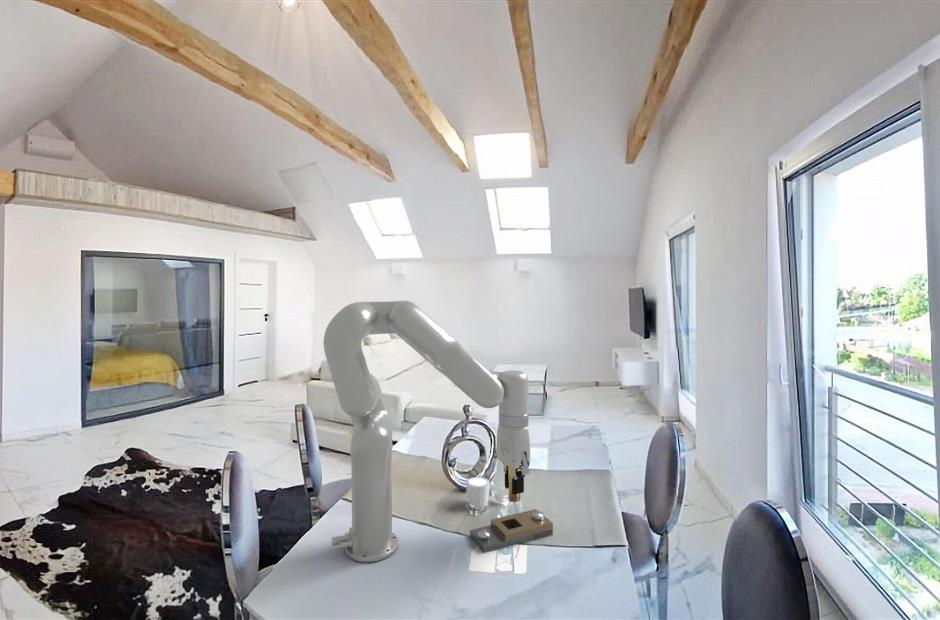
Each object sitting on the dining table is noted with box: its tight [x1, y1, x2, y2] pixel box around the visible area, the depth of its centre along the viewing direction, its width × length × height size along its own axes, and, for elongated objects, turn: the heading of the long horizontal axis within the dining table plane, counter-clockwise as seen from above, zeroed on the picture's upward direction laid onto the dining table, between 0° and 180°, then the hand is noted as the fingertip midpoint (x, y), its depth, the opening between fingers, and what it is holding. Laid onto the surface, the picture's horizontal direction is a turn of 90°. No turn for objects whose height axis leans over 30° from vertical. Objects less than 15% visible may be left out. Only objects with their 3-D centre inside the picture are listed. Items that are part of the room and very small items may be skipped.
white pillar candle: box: [466, 476, 491, 507], centre depth 131 cm, size 7×7×7 cm
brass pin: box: [508, 467, 521, 503], centre depth 114 cm, size 3×3×10 cm
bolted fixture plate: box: [469, 508, 554, 554], centre depth 115 cm, size 20×8×4 cm, turn 115°
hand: (514, 489), depth 114 cm, fingers closed on brass pin, 3 cm apart
